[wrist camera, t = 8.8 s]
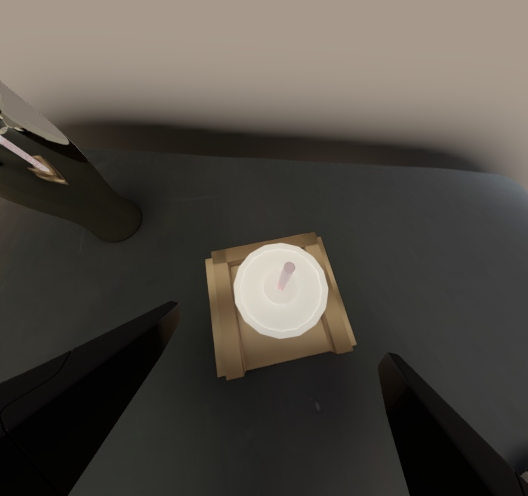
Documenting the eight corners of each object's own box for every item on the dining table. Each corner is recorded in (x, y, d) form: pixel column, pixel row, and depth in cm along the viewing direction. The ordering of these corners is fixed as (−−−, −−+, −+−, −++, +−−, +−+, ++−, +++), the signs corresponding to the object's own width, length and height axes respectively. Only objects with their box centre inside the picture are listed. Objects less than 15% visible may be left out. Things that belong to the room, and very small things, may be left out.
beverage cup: (257, 339, 20) (239, 382, 6) (239, 282, 22) (197, 226, 8) (312, 317, 20) (399, 316, 7) (290, 264, 22) (325, 185, 9)
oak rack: (352, 343, 20) (366, 347, 17) (219, 374, 19) (212, 384, 17) (318, 240, 24) (325, 229, 22) (207, 261, 23) (199, 254, 21)
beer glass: (148, 236, 25) (-7, 127, 11) (92, 252, 24) (-153, 159, 10) (142, 193, 27) (9, 57, 13) (91, 207, 26) (-110, 79, 12)
